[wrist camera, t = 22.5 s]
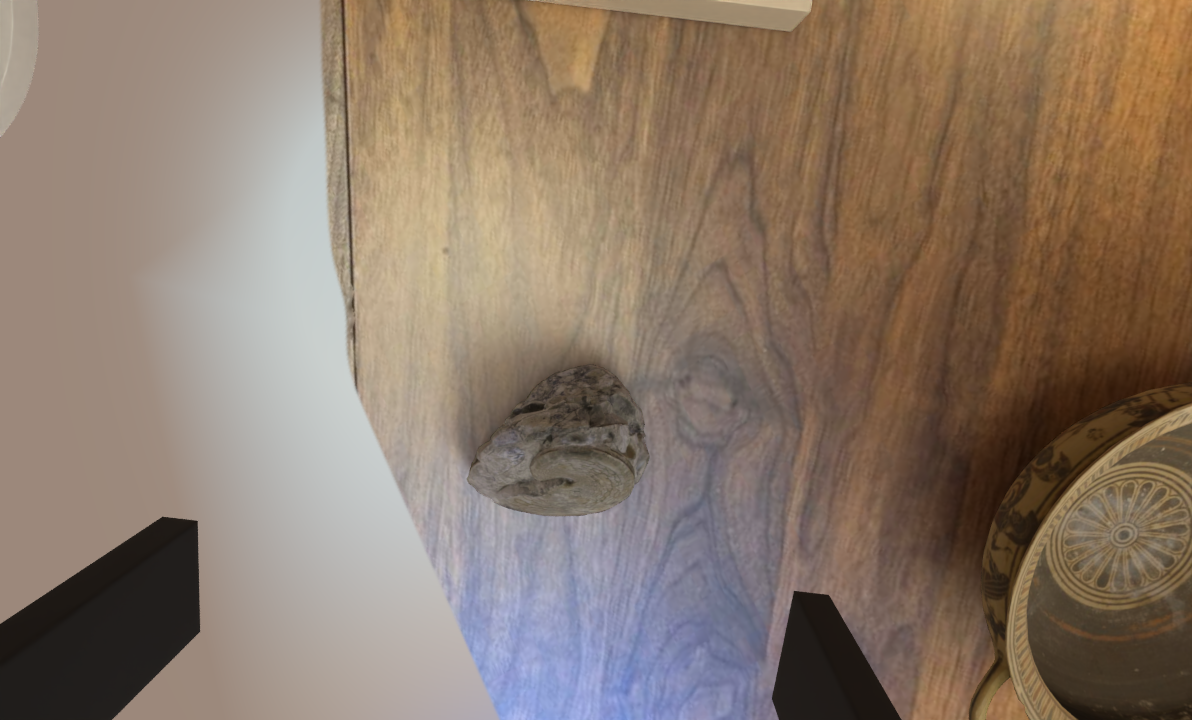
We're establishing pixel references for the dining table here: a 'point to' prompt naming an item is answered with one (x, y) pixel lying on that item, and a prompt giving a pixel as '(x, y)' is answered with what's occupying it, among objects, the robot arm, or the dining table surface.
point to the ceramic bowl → (1097, 569)
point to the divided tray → (711, 10)
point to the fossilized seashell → (565, 447)
